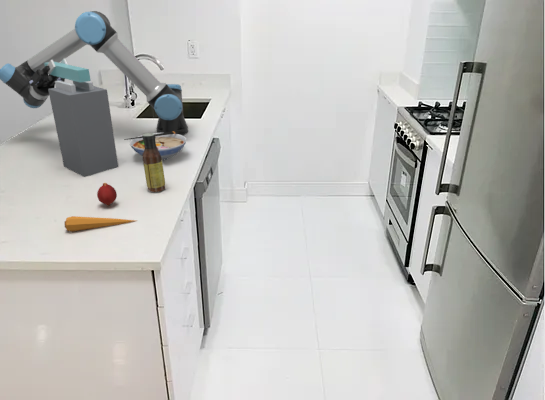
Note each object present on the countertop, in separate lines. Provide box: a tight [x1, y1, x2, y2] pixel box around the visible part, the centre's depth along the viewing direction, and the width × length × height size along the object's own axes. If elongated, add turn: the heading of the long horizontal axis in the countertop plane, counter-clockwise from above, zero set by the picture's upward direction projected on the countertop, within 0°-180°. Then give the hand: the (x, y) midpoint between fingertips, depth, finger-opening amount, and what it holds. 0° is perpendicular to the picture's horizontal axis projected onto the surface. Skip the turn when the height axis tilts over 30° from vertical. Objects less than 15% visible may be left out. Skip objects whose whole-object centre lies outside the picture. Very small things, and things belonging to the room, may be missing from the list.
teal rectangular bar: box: [44, 62, 92, 82], centre depth 160 cm, size 26×4×4 cm, turn 49°
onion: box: [96, 182, 118, 207], centre depth 139 cm, size 6×6×8 cm
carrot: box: [64, 215, 137, 233], centre depth 128 cm, size 20×4×4 cm, turn 109°
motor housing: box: [48, 81, 119, 178], centre depth 164 cm, size 16×14×32 cm
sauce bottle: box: [142, 132, 166, 193], centre depth 148 cm, size 7×6×20 cm
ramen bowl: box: [123, 130, 187, 161], centre depth 180 cm, size 25×23×8 cm
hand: (59, 62), depth 161 cm, fingers closed on teal rectangular bar, 4 cm apart
